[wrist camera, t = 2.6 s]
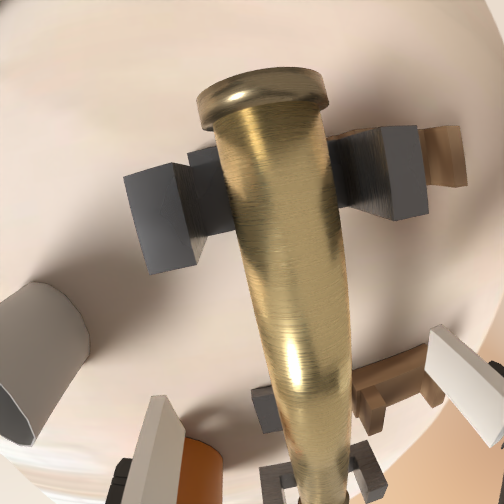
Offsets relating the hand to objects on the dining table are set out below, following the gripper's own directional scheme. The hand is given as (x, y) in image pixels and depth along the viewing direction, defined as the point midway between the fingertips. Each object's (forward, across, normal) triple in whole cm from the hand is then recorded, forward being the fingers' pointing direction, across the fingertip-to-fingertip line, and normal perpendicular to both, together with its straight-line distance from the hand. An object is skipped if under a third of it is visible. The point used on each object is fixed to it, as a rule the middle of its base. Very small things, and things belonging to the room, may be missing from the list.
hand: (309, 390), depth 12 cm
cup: (+8, -19, +2) cm, 21 cm away
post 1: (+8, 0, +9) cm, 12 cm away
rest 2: (+8, +8, -9) cm, 15 cm away
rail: (0, 0, 0) cm, 0 cm away
